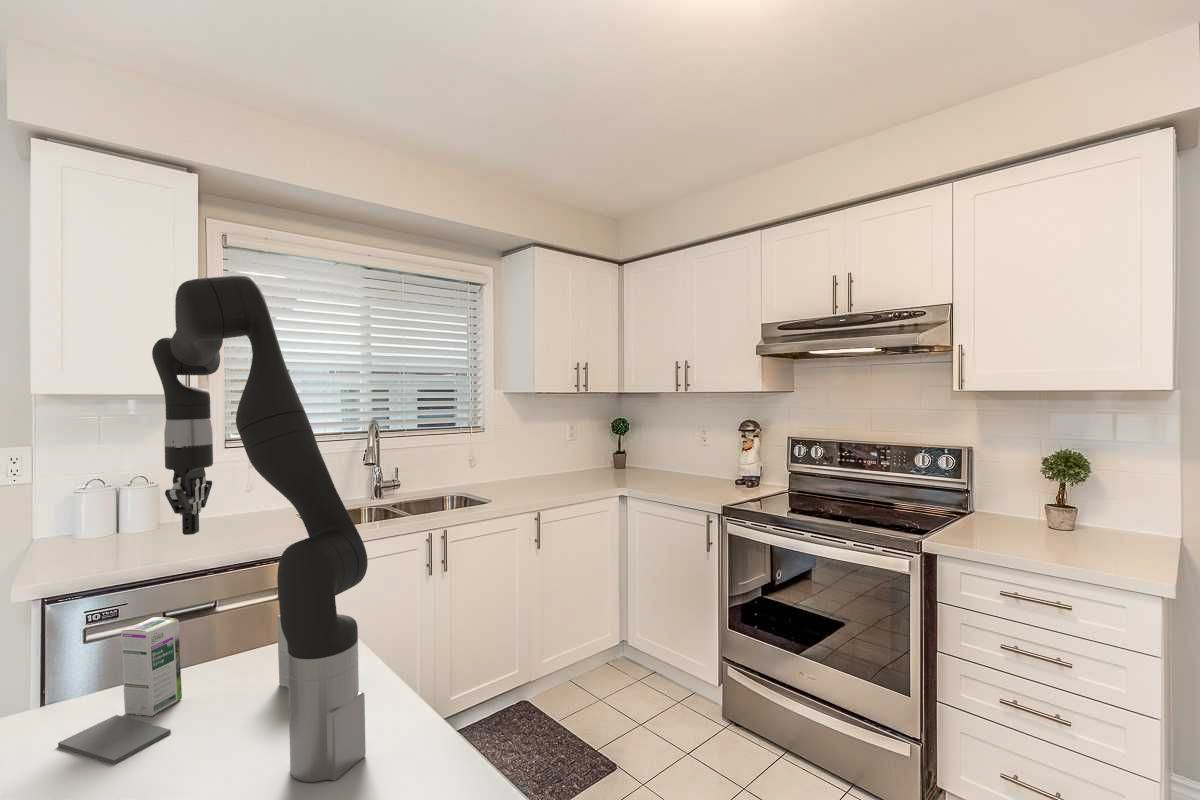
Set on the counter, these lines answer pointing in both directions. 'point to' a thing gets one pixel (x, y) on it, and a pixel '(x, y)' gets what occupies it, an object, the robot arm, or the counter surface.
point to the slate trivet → (114, 739)
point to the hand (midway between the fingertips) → (190, 533)
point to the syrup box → (151, 666)
